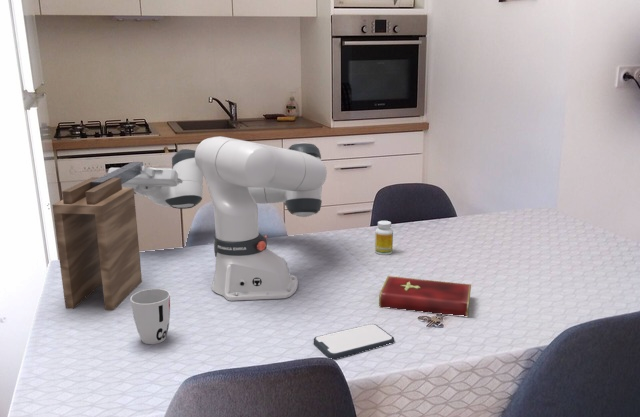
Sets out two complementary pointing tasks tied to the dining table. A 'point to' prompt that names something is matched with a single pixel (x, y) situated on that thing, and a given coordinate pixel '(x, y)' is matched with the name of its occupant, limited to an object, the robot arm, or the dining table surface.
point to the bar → (120, 174)
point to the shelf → (97, 242)
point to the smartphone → (352, 341)
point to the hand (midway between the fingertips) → (133, 168)
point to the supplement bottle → (383, 238)
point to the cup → (151, 314)
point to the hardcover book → (425, 295)
